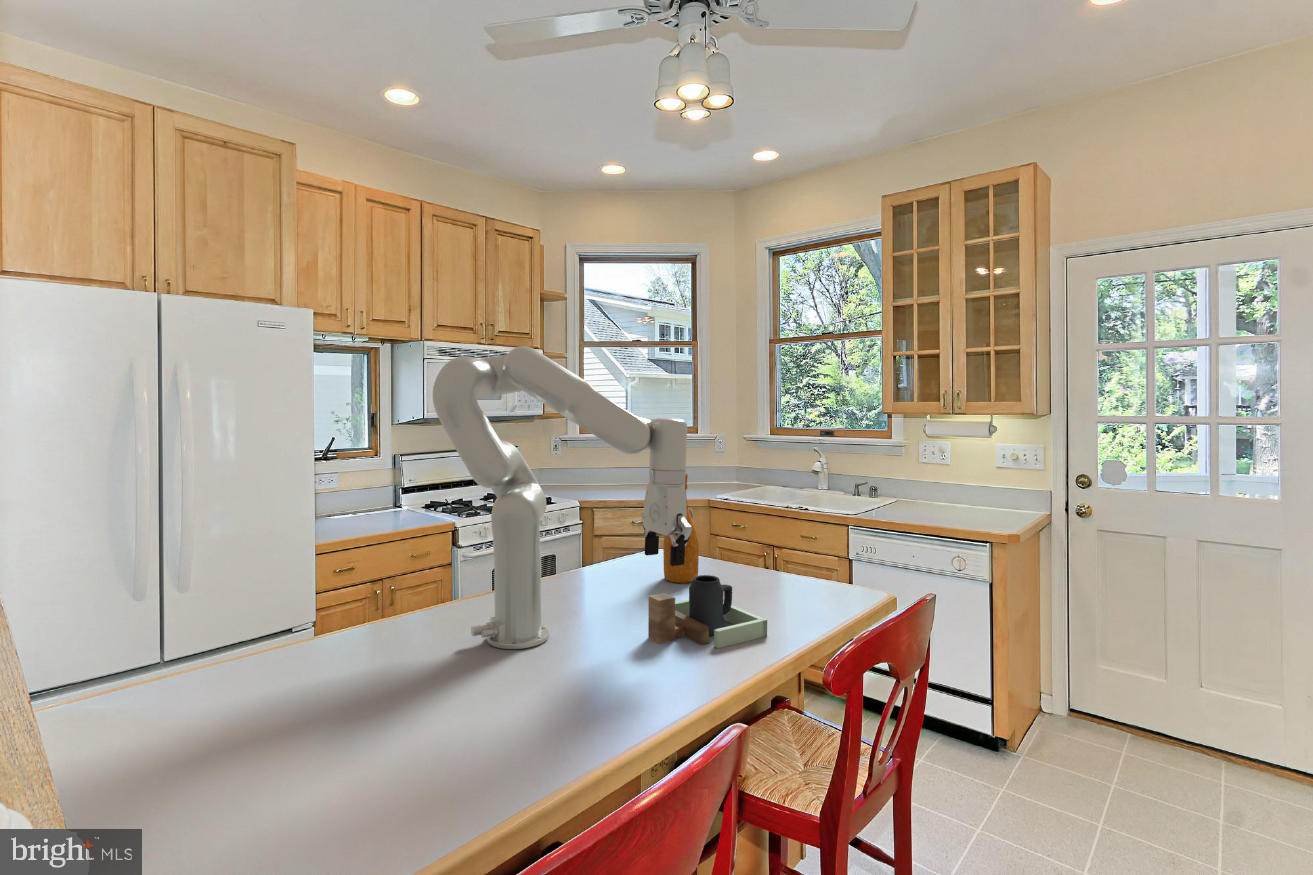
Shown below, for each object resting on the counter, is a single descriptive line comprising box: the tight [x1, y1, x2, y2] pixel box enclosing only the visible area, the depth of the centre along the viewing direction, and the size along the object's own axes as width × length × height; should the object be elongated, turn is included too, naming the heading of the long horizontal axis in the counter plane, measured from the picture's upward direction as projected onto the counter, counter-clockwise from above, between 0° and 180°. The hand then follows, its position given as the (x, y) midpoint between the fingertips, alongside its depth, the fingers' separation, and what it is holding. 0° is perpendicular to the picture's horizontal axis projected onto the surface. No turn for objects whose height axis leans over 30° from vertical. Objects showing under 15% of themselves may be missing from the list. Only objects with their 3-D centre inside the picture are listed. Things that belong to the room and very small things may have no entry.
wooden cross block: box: [647, 592, 710, 646], centre depth 138 cm, size 9×14×9 cm, turn 32°
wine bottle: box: [662, 473, 700, 584], centre depth 182 cm, size 10×10×30 cm
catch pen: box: [675, 599, 768, 649], centre depth 143 cm, size 13×20×4 cm, turn 32°
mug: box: [688, 574, 733, 638], centre depth 143 cm, size 12×9×11 cm
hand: (663, 559), depth 136 cm, fingers open, 9 cm apart
